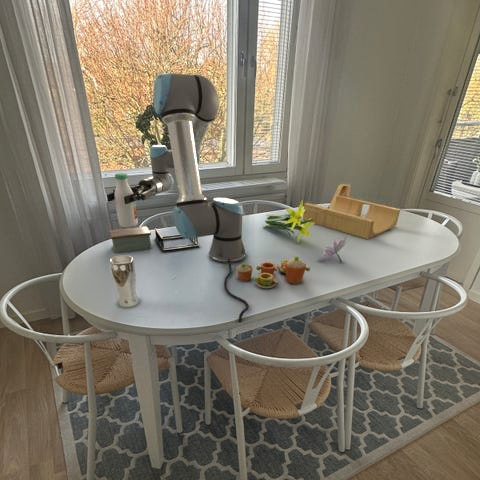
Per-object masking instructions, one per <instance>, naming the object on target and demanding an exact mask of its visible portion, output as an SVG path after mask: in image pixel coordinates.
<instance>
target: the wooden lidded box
mask: <svg viewBox="0 0 480 480" xmlns="http://www.w3.org/2000/svg"><path fill="white" fill-rule="evenodd" d="M108 232H109V235H110V238H111V243H112V246H113V249H114V252H115V254H117V253H126V252H134V251H140V250H148V249H150V250H151V249H152V244H151V235H152V233H151V231H150V229H149V228H148V226H138V227H137V226H135V227H126V228H119V229H118V228H117V229H109V230H108Z"/></svg>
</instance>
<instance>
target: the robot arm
mask: <svg viewBox="0 0 480 480" xmlns="http://www.w3.org/2000/svg"><path fill="white" fill-rule="evenodd" d="M154 79H155V80H154V83H153V92H152V93H153V95H152V97H153V99H152V100H153V101H152V102H153V108H154V112H155V114H157V115H159V116H161V121H162V123H163V124H165V125H166V126H167V131H168V136H169V142H170V149H168V147H167V145H164V144H154V145H151V146H150V147H149V157H150V164H151V175H152V176H150V177H147V178H144V179H141V180H140V181H138V184H136V185H134V186H131V185H129V187H130V188H131V190H132V192H133V194H131V195H128V196H125V197H124V201H125V204H129V203H131V202H134V201H135V202H136V201H146V200H147V199H150V198H152V197H156V195H159V194H161V193H164V192H168V191H169V190H171V189H172V188H173V187H174V184H175V180H174V178H173V175H171V173H170V171H169V169H174V172H175V173H174V174H175V179H176V187H177V191H178V199H177V200H176V202H175V204H176V206H175V207H174V208H173V210H172V218H173V223H174V225H175V228H176V230H177V232H178V234H180V235H181V236H182V237H183V238H182V239H190V238H193V239H194V238H195V239H196V237H198V238H201V237H208V236H213V237H212V242H211V245H210V248H209V251H208V255H209V259H210V260H212V261H214V262H217V263H220V264H221V263H222V264H228V268H229V272H228V273H227V275H226V276H225V278H224V281H223V289H224V291H225V293H226V294H227V295H228V296H229V297H231V298H232V299H235V300H237V301H239V302H241V303H243V304H244V305H245V308H243V309H242V310H241V312H240V313H239V316H238V320H237V321H238V323H242V319H243V316H244V314H245V313H246V312H248V310H249V308H250V306H249V304H248V302H247V301H246V300H245V299H243V298H241V297H239V296H237V295H234V294H233V293H232V292H230V291H229V289H228V285H227V284H228V283H227V282H228V279H229V278H230V277H231V275H232V272H233V268H232V264H236V263H240V262H242V261H243V260H245V259H246V256H247V255H246V253H247V252H246V248H245V244H244V242H243V215H244V213H243V205H242V202H240V201H239V200H237V199H233V198H227V197H214V198H213V199H212V201H211V203H208V198H207V197H206V196H204V194H203V191H202V184H201V177H200V170H199V165H200V160H201V158H200V157H201V156H200V152H199V151H200V149H201V146H202V144H203V141H204V139H205V136H206V135H207V132H208V129H209V127H210V124H211V123H212V122H213V121H215V119H216V118H217V115H218V113H219V110H220V98H219V93H218V91H217V88H216V87H215V85H214V84H213V82H212V81H211V80H210V79H209V78H207V77H206V76H204V75H201V74H188V73H187V74H185V73H172V72H168V73H158V75H156V76H155V78H154ZM115 189H116V188H115ZM115 189H112V192H109V193H106V200H107V202H108V203H110V202H113V201H115ZM239 394H240V395H241V392H239Z"/></svg>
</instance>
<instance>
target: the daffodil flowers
mask: <svg viewBox="0 0 480 480" xmlns="http://www.w3.org/2000/svg"><path fill="white" fill-rule="evenodd" d="M303 201H304V200H301V201H300V203H299V205H298V207H297V210H296V211H295V210H293V209H291V208H285V210H286V212H287V213H286V214H266V215H265V216H266V219H265V220H264V222H265V224H267V225H264V226H263V225H262V227H263V229H279V230H281V231H285V232H287V233H288V235H289V237H290V238H291V233H292V234H294V235H296V233H295V232H294V231H293V230H295V231H298V233H297V243H299V241H300V239H301V236H302V235H304V236H305V237H311V232H310V230H308V228H309V227H311V226H313V225H315V224H316V223H315V222H313V223H312V222H310V221H312V220H313V219H309V220H307V221H306V220H303V221H302V217H303V214H304V213H306V212H305V209H304V202H303Z"/></svg>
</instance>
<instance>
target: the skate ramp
mask: <svg viewBox="0 0 480 480" xmlns="http://www.w3.org/2000/svg"><path fill="white" fill-rule="evenodd" d="M351 185H352V183H350V182H348V183H343V180H342V181H340V184H339V185H338V186H337V188H336V190H335V192H334V195H333V197H332V200H331V201H330V204H329V205H328V206H327V205H324V206H322V205H320V204H319V205H318V204H316V203H314V202H312V201H309V200H308V199H305V200H303V201H304V202H303V210H304V209H305V212H306V213H304V214H303V215H302V220H303V221H307V220H309V219H313V220H312V221H310V222H309V223H313V222H315V223H314V224H316V225H319V226H322V227H326V228H329V229H332V230H335V231H339V232H343V233H346V234H349V235H352V236H356V237H359V238H362V239H365V240H369V239H372V238H374V237H376V236H377V235H380V234H381V233H384V232H386V231H388V230H391V229H393V228H395V227H397V225H398V220H399V217H400V214H401V213H400V212H401V208H402V207H403V206H402V205H399V208H398V207H394V206H393V207H392V205H393V203H390V205H389V204H388V202H387V201H385V204H383V202H384V201H383V200H382V201H380V202H379V200H378V199H376V203H375V202H374V200H375V199H373V198H372V199H370V200H369V199H368V200H365V198H366V197H363V198H362V199H359V198H358V196H357V195H354V197H350V195H351V187H352V186H351ZM310 202H311V203H310ZM364 204H365V205H369V207H368V210H367V212H366V215H364V214H362V213H363V207H364ZM388 205H389V206H388ZM326 206H327V207H326Z"/></svg>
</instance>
